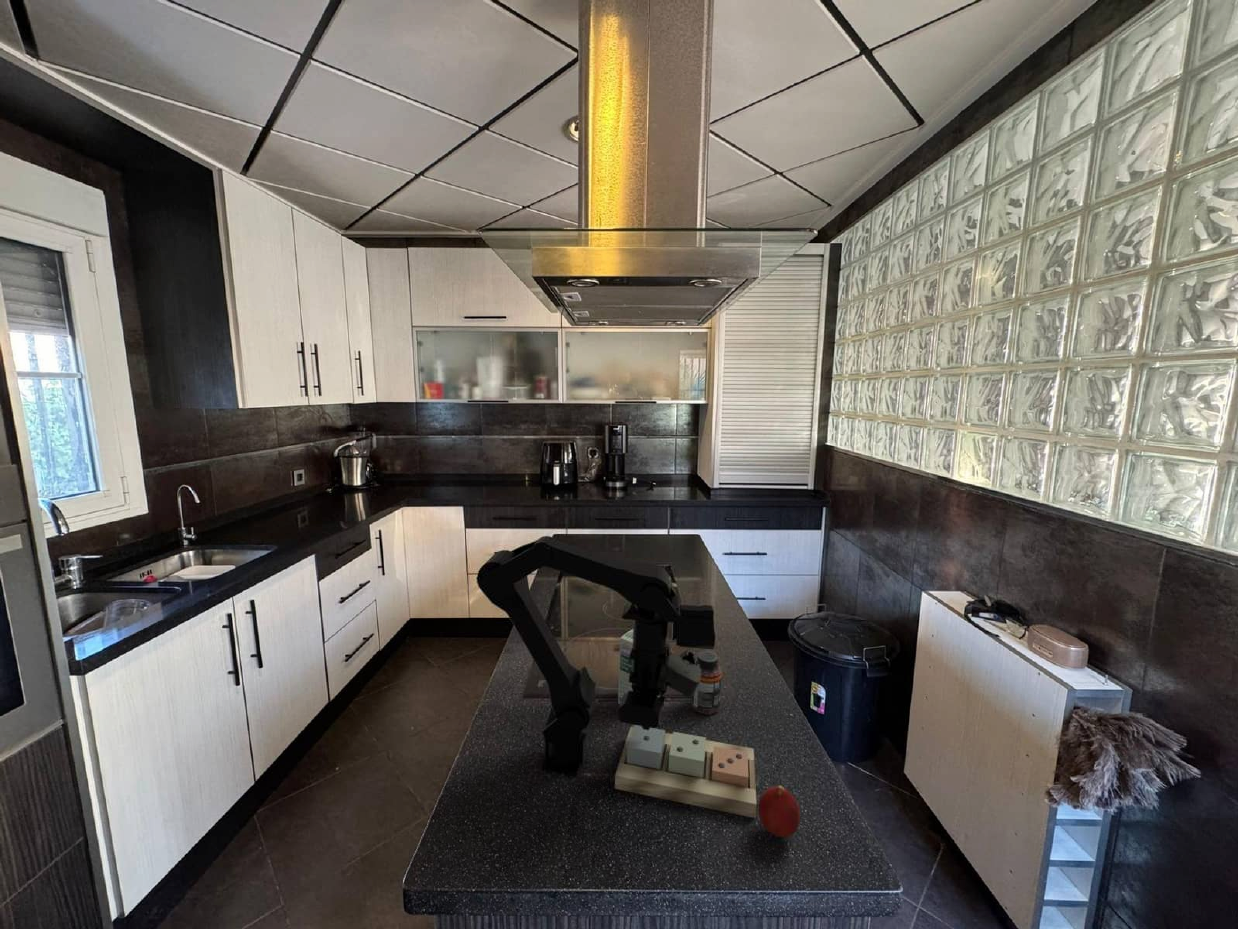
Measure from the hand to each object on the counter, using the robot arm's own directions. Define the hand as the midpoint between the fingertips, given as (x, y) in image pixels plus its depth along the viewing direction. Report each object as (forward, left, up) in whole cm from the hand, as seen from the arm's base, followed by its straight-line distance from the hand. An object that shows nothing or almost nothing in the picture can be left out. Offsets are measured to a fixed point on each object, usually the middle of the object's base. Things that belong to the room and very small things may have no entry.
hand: (646, 728), depth 83 cm
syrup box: (-5, +17, -7) cm, 19 cm away
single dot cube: (0, 0, -5) cm, 5 cm away
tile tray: (+7, 0, -7) cm, 10 cm away
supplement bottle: (+9, +19, -7) cm, 22 cm away
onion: (+21, -8, -7) cm, 24 cm away
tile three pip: (+14, 0, -6) cm, 15 cm away
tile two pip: (+7, 0, -5) cm, 9 cm away
